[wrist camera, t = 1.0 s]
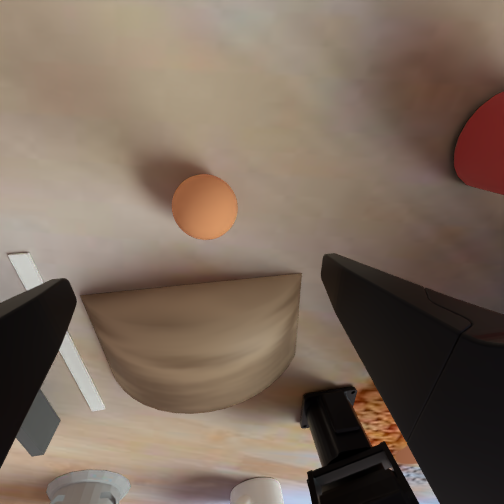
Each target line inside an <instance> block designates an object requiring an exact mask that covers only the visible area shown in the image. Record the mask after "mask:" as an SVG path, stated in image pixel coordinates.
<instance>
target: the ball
mask: <svg viewBox="0 0 504 504" xmlns="http://www.w3.org/2000/svg"><path fill="white" fill-rule="evenodd" d="M237 210H238V206H237V200H236V196H235V194H234V192H233V190H232V189H231V188H230V186H229V185H228V184H227V183H226V182H225V181H223V180H222V179H220V178H218V177H216V176H213V175H208V174H199V175H195V176H192V177H189V178H188V179H186V180H185V181H183V182H182V183H181V184H180V185H179V186H178V188H177V189H176V191H175V193H174V196H173V200H172V212H173V216H174V219H175V221H176V223H177V224H178V226H179V227H180V228H181V229H182V230H183V231H184V232H185V233H186V234H188V235H189V236H191V237H194V238H197V239H202V240H210V239H215V238H218V237H220V236H222V235H223V234H225V233H226V232H227V231H228V230H229V229H230V228H231V227H232V225H233V224H234V222H235V219H236V216H237Z"/></svg>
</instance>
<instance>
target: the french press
mask: <svg viewBox="0 0 504 504" xmlns="http://www.w3.org/2000/svg"><path fill="white" fill-rule="evenodd" d="M130 487H131V486H130V483H129V480H128V479H126V478H125V477H123V476H122V475H120V474H118V473H114V472H110V471H106V470H83V471H76V472H71V473H68V474H65V475H62V476H60V477H57V478H56V479H54V480H53V481H52V482H51V483H49V484H48V487H47V491H46V493H47V495H48V497H49V499H50V501H51V502H50V504H119V501H120V500H121V499H122V498H123V497H124V496H125V495H126V494H127V493H128V491H129V489H130Z"/></svg>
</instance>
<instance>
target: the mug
mask: <svg viewBox="0 0 504 504" xmlns="http://www.w3.org/2000/svg"><path fill="white" fill-rule="evenodd" d="M230 502H231V504H284V501H283V496H282V491H281V486H280V483H279V482H278V481H277V480H276V479H273V478H269V477H260V478H254V479H250V480H247V481H244V482H242V483H240V484H238V485H237V486H235V487H234V488H233V490H232V491H231V494H230Z"/></svg>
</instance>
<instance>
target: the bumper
mask: <svg viewBox="0 0 504 504" xmlns="http://www.w3.org/2000/svg"><path fill="white" fill-rule="evenodd" d="M60 421H61V420H60V419H59V417H58V416H57V414H56V413H55V411H54V410H53V408H52V407H51V405H50V404H49V402H48V401H47V399H46V398H45V396H44V395H43V393H42V392H41V390H39V392H38V394H37V396H36V398H35V400H34V402H33V404H32V406H31V408H30V410H29V412H28V414H27V416H26V418H25V420H24V422H23V424H22V426H21V428H20V430H19V432H18V434H17V436H16V438H17V440H18V441H19V442H20V443H21V444H22V446H23V447H24V448H25V449H26V450H27V451H28V453H29V454H30V455H31V456H38V455H44V453H45V451H46V449H47V447H48V445H49V443H50V441H51V439H52V437H53V435H54V433H55V431H56V429H57V427H58V425H59V423H60Z"/></svg>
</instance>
